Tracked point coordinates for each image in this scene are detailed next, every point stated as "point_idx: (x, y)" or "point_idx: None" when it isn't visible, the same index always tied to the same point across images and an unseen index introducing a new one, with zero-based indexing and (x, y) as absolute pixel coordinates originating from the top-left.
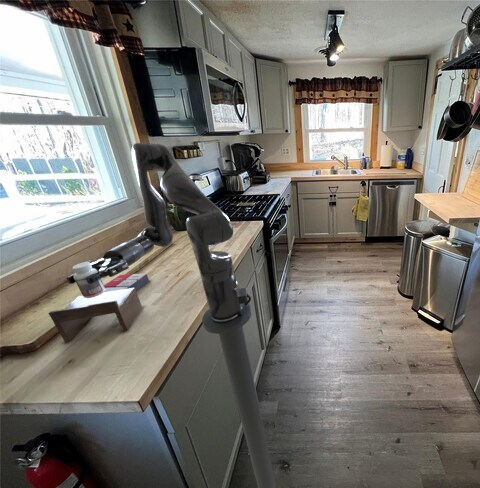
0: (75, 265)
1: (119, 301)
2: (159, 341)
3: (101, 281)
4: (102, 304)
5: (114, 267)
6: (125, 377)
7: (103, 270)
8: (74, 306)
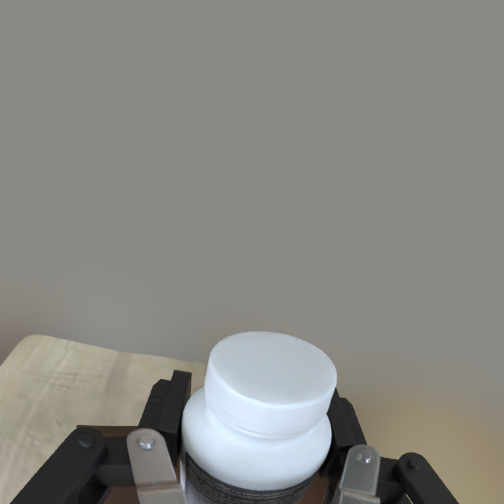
0: (326, 364)
1: (106, 498)
2: (5, 421)
3: (186, 493)
4: (126, 427)
5: (51, 458)
6: (52, 363)
7: (128, 439)
8: (309, 489)
